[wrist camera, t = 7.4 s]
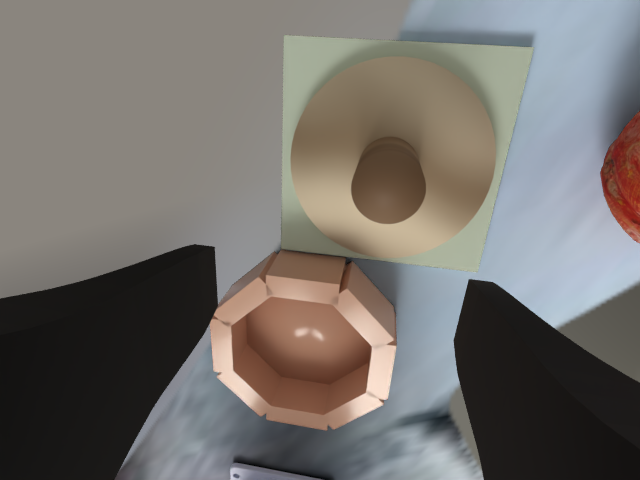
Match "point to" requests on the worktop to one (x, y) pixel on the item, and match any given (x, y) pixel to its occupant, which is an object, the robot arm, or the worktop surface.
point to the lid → (393, 157)
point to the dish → (305, 340)
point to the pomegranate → (624, 178)
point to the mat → (461, 59)
